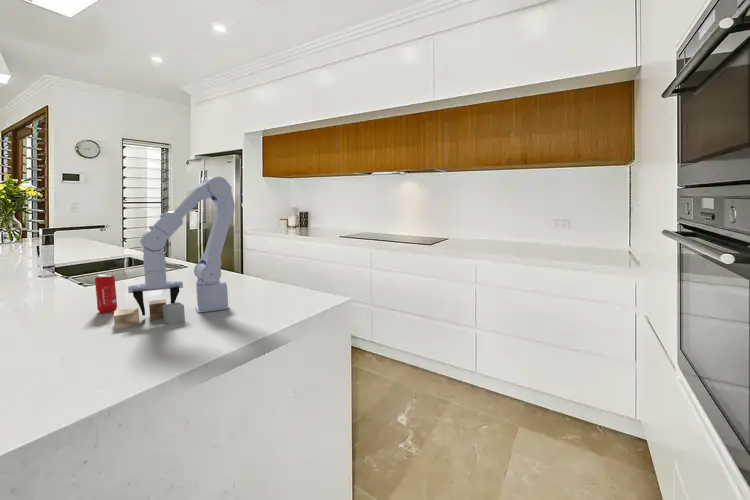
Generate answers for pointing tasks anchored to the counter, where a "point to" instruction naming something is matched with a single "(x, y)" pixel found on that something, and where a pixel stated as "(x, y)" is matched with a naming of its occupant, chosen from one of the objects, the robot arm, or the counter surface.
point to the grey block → (173, 313)
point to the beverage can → (106, 293)
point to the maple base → (126, 318)
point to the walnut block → (156, 309)
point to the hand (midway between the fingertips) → (158, 312)
